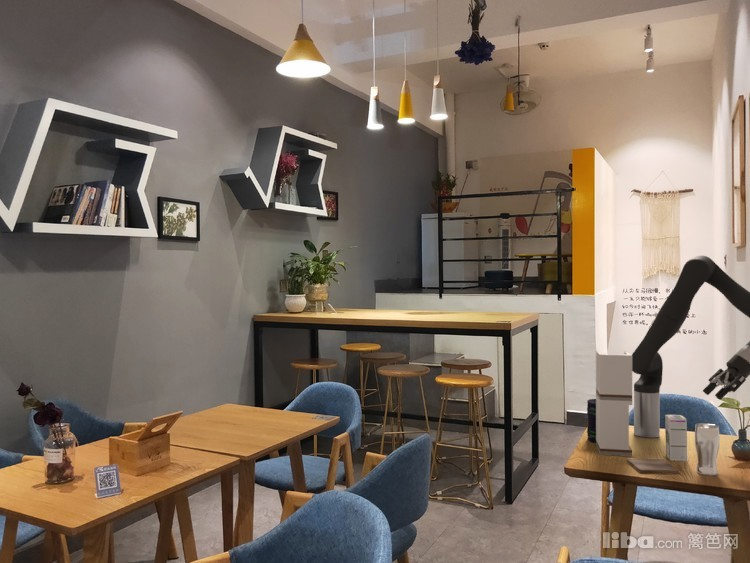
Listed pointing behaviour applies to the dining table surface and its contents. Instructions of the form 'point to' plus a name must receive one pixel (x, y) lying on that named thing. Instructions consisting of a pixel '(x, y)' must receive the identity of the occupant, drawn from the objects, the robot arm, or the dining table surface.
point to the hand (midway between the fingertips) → (711, 395)
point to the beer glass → (707, 448)
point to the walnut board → (652, 466)
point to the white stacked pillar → (613, 403)
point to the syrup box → (676, 437)
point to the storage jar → (591, 420)
